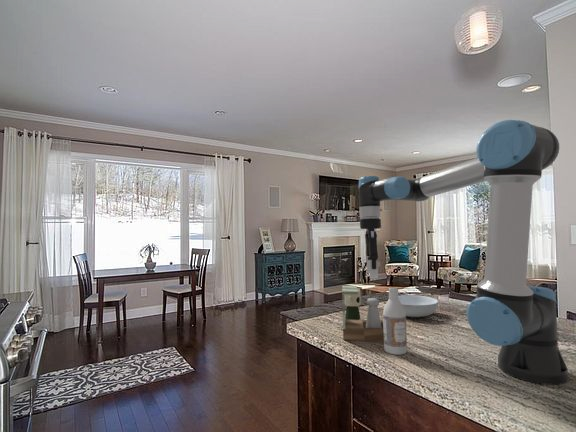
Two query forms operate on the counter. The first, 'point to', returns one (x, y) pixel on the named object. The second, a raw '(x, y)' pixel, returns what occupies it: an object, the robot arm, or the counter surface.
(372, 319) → the salt shaker
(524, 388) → the counter surface
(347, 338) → the socket station
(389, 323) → the bath foam
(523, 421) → the counter surface
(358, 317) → the character mug
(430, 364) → the counter surface
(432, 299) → the serving bowl
